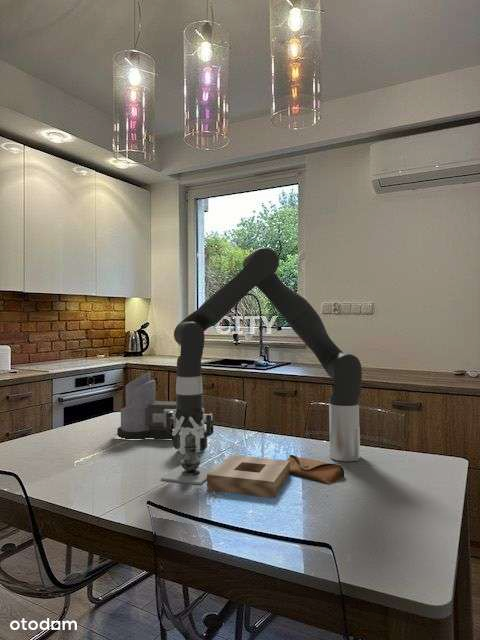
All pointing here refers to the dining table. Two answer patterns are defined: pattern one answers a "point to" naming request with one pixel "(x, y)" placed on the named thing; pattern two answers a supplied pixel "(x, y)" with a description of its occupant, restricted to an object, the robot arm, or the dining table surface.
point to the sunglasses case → (315, 470)
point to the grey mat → (178, 477)
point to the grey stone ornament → (190, 457)
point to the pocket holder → (249, 476)
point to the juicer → (144, 411)
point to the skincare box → (185, 432)
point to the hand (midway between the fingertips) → (189, 449)
